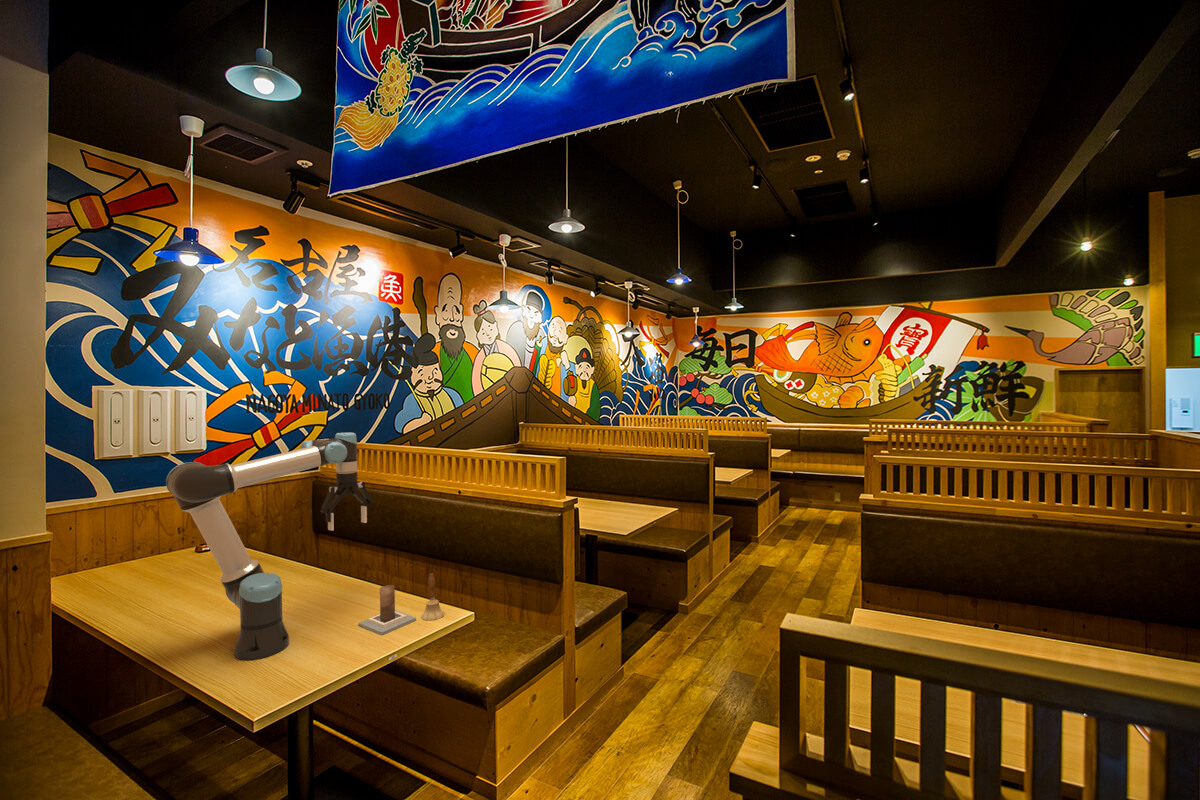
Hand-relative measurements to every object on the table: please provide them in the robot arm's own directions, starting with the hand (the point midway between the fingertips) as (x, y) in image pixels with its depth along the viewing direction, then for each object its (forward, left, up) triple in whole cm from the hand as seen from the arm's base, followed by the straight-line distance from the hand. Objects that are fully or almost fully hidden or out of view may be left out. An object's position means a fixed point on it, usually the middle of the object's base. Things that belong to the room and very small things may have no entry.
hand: (347, 526), depth 207 cm
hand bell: (+12, -35, -32) cm, 49 cm away
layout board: (-1, -26, -32) cm, 41 cm away
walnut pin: (-1, -26, -31) cm, 40 cm away
